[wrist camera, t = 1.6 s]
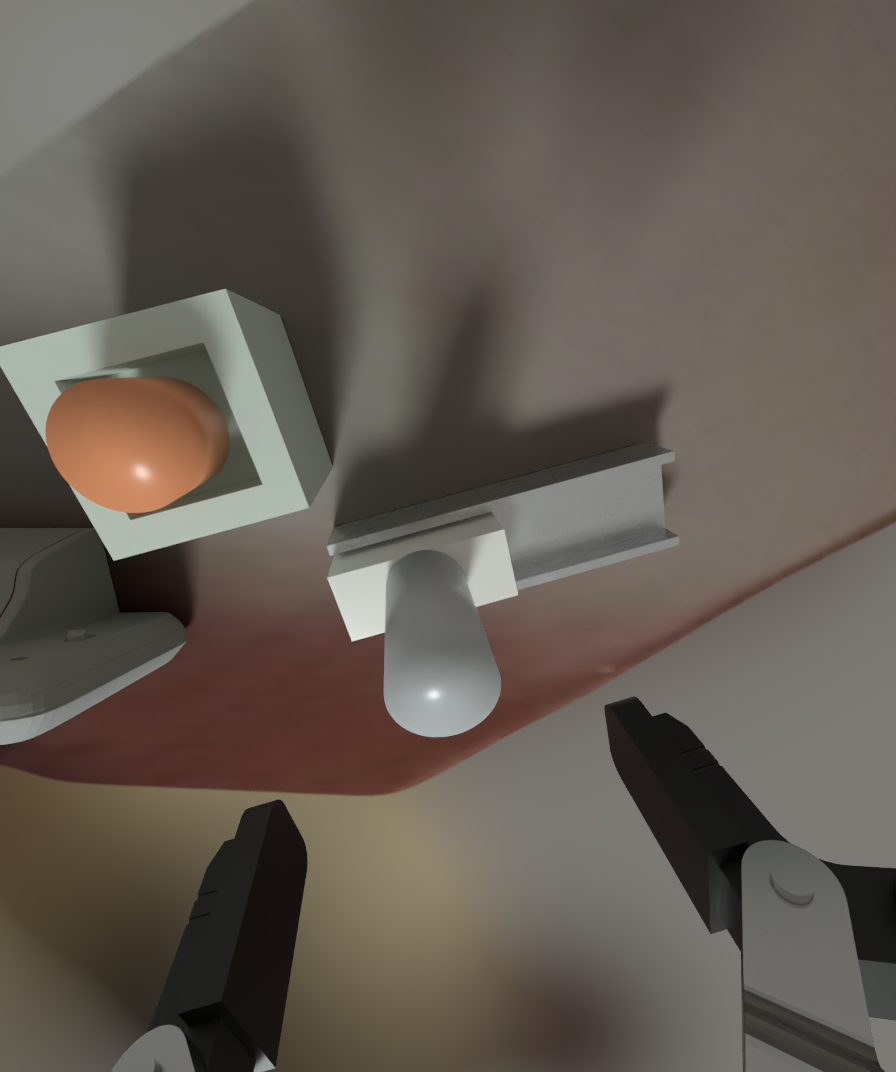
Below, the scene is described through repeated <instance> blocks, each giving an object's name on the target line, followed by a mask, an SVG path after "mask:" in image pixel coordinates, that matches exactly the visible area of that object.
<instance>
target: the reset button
mask: <svg viewBox="0 0 896 1072" xmlns="http://www.w3.org/2000/svg"><path fill="white" fill-rule="evenodd" d="M45 432H46V442H47V447H48V450H49V453H50V456H51V458H52V460H53V462H54V464H55V466H56V468H57V469H58V471H59V472H60V474H61V475H62V476H63V478H64V479H65V480H66V481H67V482H68V483H69V484H70V485H71V486H72V487H73V488H74V489H75V490H76V491H77V492H79V493H80V494H81V495H82V496H84V497H86V498H87V499H89V500H90V501H92V502H94V503H96V504H98V505H100V506H103V507H106V508H108V509H112V510H115V511H120V512H126V513H144V512H150V511H154V510H157V509H160V508H163V507H165V506H166V505H168V504H170V503H172V502H173V501H175V500H177V499H178V498H180V497H182V496H183V495H185V494H186V493H188V492H190V491H191V490H193V489H195V488H196V487H198V486H199V485H201V484H203V483H204V482H206V481H208V480H209V479H211V478H212V477H213V476H215V475H216V474H217V473H218V472H219V470H220V469H221V468H222V467H223V465H224V463H225V461H226V459H227V456H228V452H229V445H230V439H229V431H228V427H227V424H226V421H225V419H224V417H223V415H222V413H221V411H220V410H219V408H218V407H217V405H216V404H215V403H214V402H213V401H212V399H211V398H209V397H208V396H207V395H206V394H205V393H204V392H203V391H201V390H200V389H198V388H197V387H195V386H194V385H192V384H190V383H187V382H185V381H183V380H180V379H176V378H171V377H163V376H156V377H129V378H102V379H92V380H86V381H83V382H80V383H77V384H75V385H73V386H71V387H70V388H68V389H67V390H65V391H64V392H63V393H62V394H61V395H60V396H59V397H58V398H57V399H56V400H55V402H54V403H53V405H52V407H51V409H50V411H49V413H48V417H47V421H46V431H45Z"/></svg>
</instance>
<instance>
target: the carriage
mask: <svg viewBox="0 0 896 1072" xmlns="http://www.w3.org/2000/svg"><path fill="white" fill-rule="evenodd" d="M327 578H328V581H329V583H330V586H331V589H332V591H333V594H334V596H335V599H336V601H337V604H338V607H339V609H340V612H341V614H342V617H343V619H344V622H345V625H346V627H347V630H348V632H349V635H350V637H351V640H352V641H356V640H359V639H363V638H366V637H370V636H373V635H377V634H381V633H384V632H385V658H384V701H385V704H386V708H387V710H388V712H389V714H390V715H391V716H392V718H393V719H394V720H395V721H396V722H397V723H398V724H399V725H400V726H402V727H403V728H405V729H406V730H408V731H410V732H413V733H415V734H419V735H422V736H428V737H446V736H452V735H456V734H459V733H462V732H465V731H467V730H469V729H471V728H473V727H474V726H476V725H478V724H479V723H480V722H482V721H483V720H484V719H485V718H486V717H487V716H488V715H489V714H490V712H491V711H492V710H493V708H494V707H495V705H496V703H497V701H498V698H499V695H500V690H501V678H500V673H499V670H498V668H497V665H496V662H495V659H494V656H493V654H492V651H491V648H490V645H489V642H488V640H487V637H486V634H485V631H484V628H483V626H482V623H481V620H480V617H479V615H478V612H477V609H476V607H477V606H481V605H484V604H488V603H491V602H495V601H499V600H502V599H506V598H509V597H513V596H517V595H518V592H517V587H516V582H515V578H514V573H513V568H512V563H511V559H510V554H509V549H508V544H507V540H506V535H505V530H504V528H503V527H502V525H501V524H500V522H499V521H498V520H497V518H496V517H495V515H494V514H493V513H492V511H491V512H488V513H484V514H480V515H477V516H473V517H469V518H466V519H462V520H458V521H455V522H451V523H447V524H444V525H440V526H436V527H433V528H429V529H426V530H422V531H418V532H415V533H411V534H407V535H404V536H400V537H396V538H393V539H389V540H385V541H382V542H378V543H375V544H371V545H367V546H364V547H360V548H356V549H353V550H349V551H345V552H342V553H338V554H334V557H333V561H332V564H331V567H330V571H329V574H328V577H327Z"/></svg>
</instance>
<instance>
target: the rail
mask: <svg viewBox="0 0 896 1072" xmlns="http://www.w3.org/2000/svg"><path fill="white" fill-rule="evenodd" d="M673 461H675V456H674V451H672V450H669V449H666V448H662V447H659V446H655V445H652V444H648V443H645V442H643V443H640V444H636V445H632V446H629V447H625V448H621V449H618V450H614V451H610V452H607V453H603V454H599V455H596V456H592V457H588V458H585V459H581V460H577V461H574V462H570V463H566V464H563V465H559V466H555V467H552V468H548V469H544V470H541V471H537V472H533V473H530V474H526V475H522V476H519V477H515V478H511V479H508V480H504V481H500V482H497V483H493V484H489V485H486V486H482V487H478V488H475V489H471V490H467V491H464V492H460V493H456V494H453V495H449V496H445V497H442V498H438V499H434V500H431V501H427V502H423V503H420V504H416V505H412V506H409V507H405V508H401V509H398V510H394V511H390V512H387V513H383V514H379V515H376V516H372V517H368V518H365V519H361V520H357V521H354V522H350V523H346V524H343V525H339V526H335V527H333V530H332V532H331V535H330V538H329V541H328V544H327V549H328V551H329V554H330V556H331V555H334V554H338V553H342V552H345V551H349V550H353V549H356V548H360V547H364V546H367V545H371V544H375V543H378V542H382V541H385V540H389V539H393V538H396V537H400V536H404V535H407V534H411V533H415V532H418V531H422V530H426V529H429V528H433V527H436V526H440V525H444V524H447V523H451V522H455V521H458V520H462V519H466V518H469V517H473V516H477V515H480V514H484V513H488V512H491V511H492V513H493V514H494V515H495V517H496V518H497V520H498V521H499V522H500V524H501V525H502V527H503V528H504V530H505V535H506V540H507V544H508V549H509V554H510V559H511V563H512V568H513V573H514V578H515V582H516V587H517V590H520V589H523V588H527V587H530V586H534V585H538V584H541V583H545V582H548V581H552V580H556V579H559V578H563V577H566V576H570V575H573V574H577V573H581V572H584V571H588V570H591V569H595V568H599V567H602V566H606V565H609V564H613V563H616V562H620V561H624V560H627V559H631V558H634V557H638V556H641V555H645V554H649V553H652V552H656V551H659V550H663V549H667V548H670V547H674V546H677V545H679V536H678V535H676V534H674V533H672V532H671V531H669V530H667V529H666V528H665V515H664V500H663V484H662V469H661V465H663V464H666V463H670V462H673Z"/></svg>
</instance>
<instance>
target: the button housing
mask: <svg viewBox="0 0 896 1072" xmlns="http://www.w3.org/2000/svg"><path fill="white" fill-rule="evenodd" d="M0 367H1V368H2V370H3V372H4V374H5V375H6V377H7V379H8V380H9V382H10V384H11V386H12V387H13V389H14V391H15V392H16V394H17V396H18V398H19V399H20V401H21V403H22V404H23V406H24V408H25V410H26V411H27V413H28V415H29V416H30V418H31V420H32V422H33V423H34V425H35V427H36V428H37V430H38V432H39V434H40V435H41V437H42V439H43V440H44V442H45V444H46V446H47V442H46V432H45V431H46V421H47V417H48V413H49V411H50V409H51V407H52V405H53V403H54V402H55V400H56V399H57V398H58V397H59V396H60V395H61V394H62V393H63V392H64V391H65V390H67V389H68V388H70V387H71V386H73V385H75V384H77V383H80V382H83V381H86V380H92V379H102V378H129V377H156V376H163V377H171V378H176V379H180V380H183V381H185V382H187V383H190V384H192V385H194V386H195V387H197V388H198V389H200V390H201V391H203V392H204V393H205V394H206V395H207V396H208V397H209V398H211V399H212V401H213V402H214V403H215V404H216V405H217V407H218V408H219V410H220V411H221V413H222V415H223V417H224V419H225V421H226V424H227V427H228V431H229V439H230V445H229V452H228V456H227V459H226V461H225V463H224V465H223V467H222V468H221V469H220V470H219V472H218V473H217V474H216V475H215V476H213V477H212V478H211V479H209V480H208V481H206V482H204V483H203V484H201V485H199V486H198V487H196V488H195V489H193V490H191V491H190V492H188V493H186V494H185V495H183V496H182V497H180V498H178V499H177V500H175V501H173V502H172V503H170V504H168V505H166V506H165V507H163V508H160V509H157V510H154V511H150V512H144V513H126V512H120V511H115V510H112V509H108V508H106V507H103V506H100V505H98V504H96V503H94V502H92V501H90V500H89V499H87V498H86V497H84V496H82V495H81V494H80V493H79V492H77V491H76V490H75V489H74V488H73V487H72V486H71V485H70V484H69V485H70V487H71V488H72V490H73V492H74V494H75V495H76V497H77V499H78V500H79V502H80V504H81V506H82V507H83V509H84V511H85V512H86V514H87V516H88V518H89V519H90V521H91V523H92V524H93V526H94V528H95V530H96V531H97V533H98V535H99V536H100V538H101V540H102V542H103V543H104V545H105V547H106V548H107V550H108V552H109V554H110V555H111V557H112V559H113V560H114V561H115V560H119V559H123V558H126V557H130V556H134V555H137V554H141V553H145V552H148V551H152V550H156V549H159V548H163V547H167V546H170V545H174V544H178V543H182V542H185V541H189V540H193V539H196V538H200V537H204V536H207V535H211V534H215V533H218V532H222V531H226V530H229V529H233V528H237V527H241V526H244V525H248V524H252V523H255V522H259V521H263V520H266V519H270V518H274V517H277V516H281V515H285V514H288V513H292V512H296V511H300V510H303V509H307V508H309V507H310V506H311V504H312V502H313V501H314V499H315V497H316V495H317V494H318V492H319V490H320V488H321V487H322V485H323V483H324V482H325V480H326V478H327V476H328V475H329V473H330V471H331V469H332V468H333V466H332V463H331V460H330V457H329V454H328V451H327V449H326V446H325V443H324V440H323V437H322V434H321V431H320V428H319V426H318V423H317V420H316V417H315V414H314V411H313V408H312V405H311V403H310V400H309V397H308V394H307V391H306V388H305V385H304V382H303V379H302V377H301V374H300V371H299V368H298V365H297V362H296V359H295V356H294V354H293V351H292V348H291V345H290V342H289V339H288V336H287V333H286V331H285V328H284V325H283V322H282V319H281V316H280V315H279V314H277V313H275V312H273V311H271V310H269V309H267V308H265V307H263V306H261V305H259V304H257V303H254V302H252V301H250V300H248V299H246V298H244V297H242V296H240V295H238V294H236V293H234V292H232V291H230V290H228V289H222V290H218V291H214V292H210V293H206V294H203V295H199V296H195V297H191V298H187V299H183V300H179V301H175V302H171V303H168V304H164V305H160V306H156V307H152V308H148V309H144V310H140V311H136V312H133V313H129V314H125V315H121V316H117V317H113V318H109V319H105V320H102V321H98V322H94V323H90V324H86V325H82V326H78V327H74V328H70V329H67V330H63V331H59V332H55V333H51V334H47V335H43V336H39V337H35V338H32V339H28V340H24V341H20V342H16V343H12V344H8V345H4V346H1V347H0Z"/></svg>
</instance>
